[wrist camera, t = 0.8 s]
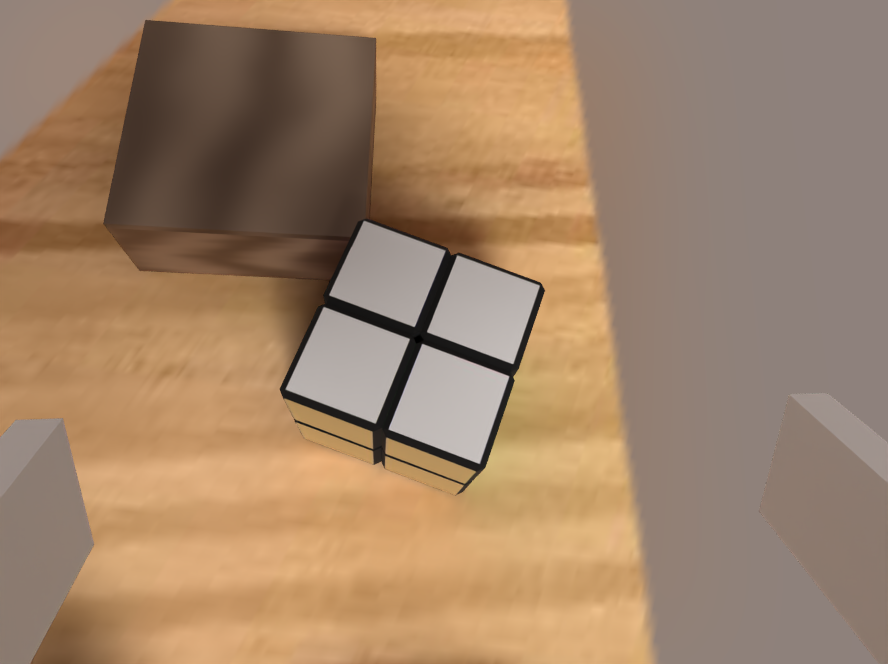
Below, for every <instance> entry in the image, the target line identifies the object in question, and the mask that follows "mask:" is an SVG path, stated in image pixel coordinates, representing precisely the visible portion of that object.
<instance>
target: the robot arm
mask: <svg viewBox="0 0 888 664" xmlns="http://www.w3.org/2000/svg"><path fill="white" fill-rule="evenodd" d="M759 512H760V513H761V515H762V516H763V517H764V518H765V520H766V521H767V522H768V523H769V525H770V526H771V527H772V528H773V530H774V531H775V532H776V534H777V535H778V536H779V537H780V539H781V540H782V541H783V543H784V544H785V545H786V546H787V548H788V549H789V550H790V551H791V553H792V554H793V555H794V557H795V558H796V559H797V560H798V562H799V563H800V564H801V565H802V567H803V568H804V569H805V571H806V572H807V573H808V574H809V576H810V577H811V578H812V579H813V581H814V582H815V583H816V585H817V586H818V587H819V588H820V590H821V591H822V592H823V593H824V595H825V596H826V597H827V599H828V600H829V601H830V602H831V604H832V605H833V606H834V607H835V609H836V610H837V611H838V613H839V614H840V615H841V616H842V618H843V619H844V620H845V621H846V623H847V624H848V625H849V626H850V628H851V629H852V630H853V632H854V633H855V634H856V635H857V637H858V638H859V639H860V640H861V642H862V643H863V644H864V646H865V647H866V648H867V650H868V651H869V652H870V653H871V655H872V656H873V657H874V658H875V660H876V661H877V662H878V663H879V664H888V442H886V441H885V440H884V439H883V438H881V437H880V436H879V435H878V434H877V433H875V432H874V431H873V430H872V429H871V428H869V427H868V426H867V425H865V424H864V423H863V422H862V421H861V420H859V419H858V418H857V417H856V416H855V415H853V414H852V413H851V412H849V410H847V409H846V408H845V407H844V406H842V405H841V404H840V403H839V402H838V401H836V400H835V399H834V398H833V397H831V396H830V395H829V394H828V393H814V394H789V397H788V400H787V404H786V409H785V412H784V416H783V420H782V424H781V428H780V431H779V435H778V439H777V444H776V447H775V451H774V455H773V459H772V463H771V466H770V471H769V475H768V478H767V482H766V486H765V490H764V494H763V498H762V501H761V505H760V509H759ZM93 545H94V542H93V538H92V534H91V530H90V526H89V522H88V518H87V514H86V510H85V506H84V502H83V498H82V494H81V490H80V486H79V482H78V477H77V473H76V469H75V465H74V461H73V457H72V453H71V449H70V445H69V441H68V437H67V433H66V429H65V425H64V421H63V418H61V419H31V420H15V422H14V423H13V424H12V425H11V426H10V427H9V428H8V429H7V430H6V432H5V433H4V434H3V435H2V436H1V437H0V664H30V663H31V661H32V659H33V658H34V656H35V654H36V652H37V650H38V648H39V646H40V644H41V643H42V641H43V639H44V637H45V635H46V633H47V631H48V629H49V628H50V626H51V624H52V622H53V620H54V618H55V616H56V615H57V613H58V611H59V609H60V607H61V605H62V603H63V601H64V600H65V598H66V596H67V594H68V592H69V590H70V588H71V586H72V585H73V583H74V581H75V579H76V577H77V575H78V573H79V571H80V570H81V568H82V566H83V564H84V562H85V560H86V558H87V557H88V555H89V553H90V551H91V549H92V547H93Z"/></svg>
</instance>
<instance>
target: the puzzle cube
mask: <svg viewBox="0 0 888 664" xmlns="http://www.w3.org/2000/svg"><path fill="white" fill-rule="evenodd" d="M544 292H545V290H544V288H543V286H542V284H541V283H540V282H537V281H535V280H532V279H529V278H527V277H524V276H521V275H518V274H516V273H513V272H510V271H507V270H505V269H502V268H499V267H497V266H494V265H491V264H488V263H486V262H483V261H480V260H477V259H475V258H472V257H469V256H467V255H464V254H461V253H457V254H454V255H452V256H451V254H450V252H449V250H448V248H446V247H443V246H440V245H438V244H435V243H432V242H430V241H427V240H424V239H421V238H419V237H416V236H413V235H411V234H408V233H405V232H402V231H400V230H397V229H394V228H391V227H389V226H386V225H383V224H381V223H378V222H375V221H372V220H370V219H367V218H366V219H363V220H360V221H358V222H357V225H356V227H355V229H354V231H353V233H352V235H351V237H350V240H349V242H348V244H347V246H346V248H345V250H344V252H343V255H342V257H341V259H340V261H339V263H338V265H337V267H336V270H335V272H334V274H333V276H332V278H331V280H330V282H329V285H328V287H327V289H326V291H325V293H324V295H323V296H324V301H325V304H324V305H321V306H319V307H318V308H317V310H316V312H315V315H314V317H313V319H312V321H311V323H310V325H309V327H308V330H307V332H306V334H305V336H304V338H303V340H302V342H301V345H300V347H299V349H298V351H297V353H296V355H295V357H294V360H293V362H292V364H291V366H290V368H289V370H288V372H287V375H286V377H285V379H284V381H283V383H282V385H281V387H280V391H281V394H282V396H283V399H284V400H285V402H286V404H287V406H288V408H289V410H290V412H291V414H292V416H293V418H294V420H295V422H296V424H297V426H298V428H299V430H300V432H301V433H302V435H303V437H304V438H305V439H307V440H310V441H312V442H315V443H318V444H320V445H323V446H326V447H328V448H331V449H334V450H336V451H339V452H342V453H344V454H347V455H350V456H352V457H355V458H358V459H360V460H363V461H366V462H368V463H371V464H373V465H375V464H377V463H379V462H381V461H382V464H383V466H384V468H385V469H387V470H389V471H392V472H394V473H397V474H400V475H402V476H405V477H408V478H410V479H413V480H416V481H418V482H421V483H424V484H426V485H429V486H432V487H434V488H437V489H440V490H442V491H445V492H448V493H450V494H453V495H457V494H459V493H462V492H463V491H464V490H465V489H466V488H467V486H468V485H469V484H470V483H471V482H472V480H474V479H475V478H476V477H477V476H478V475H479V474H480V472H481V471H482V470H483V469H484V468H485V467H486V464H487V461H488V458H489V455H490V452H491V449H492V446H493V443H494V440H495V438H496V435H497V432H498V429H499V426H500V423H501V420H502V417H503V414H504V411H505V408H506V405H507V402H508V399H509V396H510V393H511V390H512V387H513V384H514V381H515V380H514V378H513V376H514V375H515V373H516V372H517V370H518V369H519V366H520V363H521V360H522V357H523V354H524V351H525V348H526V345H527V342H528V339H529V336H530V333H531V330H532V327H533V324H534V321H535V319H536V316H537V313H538V310H539V307H540V304H541V301H542V298H543V295H544Z"/></svg>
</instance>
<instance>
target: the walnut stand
mask: <svg viewBox="0 0 888 664" xmlns="http://www.w3.org/2000/svg"><path fill="white" fill-rule="evenodd" d="M375 112H376V38H368V37H355V36H342V35H330V34H317V33H304V32H291V31H278V30H266V29H253V28H240V27H227V26H214V25H202V24H189V23H176V22H163V21H150V20H145V24H144V29H143V34H142V39H141V44H140V49H139V53H138V58H137V63H136V68H135V73H134V78H133V82H132V87H131V92H130V97H129V102H128V107H127V112H126V116H125V121H124V126H123V131H122V136H121V141H120V145H119V150H118V155H117V160H116V165H115V170H114V174H113V179H112V184H111V189H110V194H109V199H108V203H107V208H106V213H105V218H104V223H103V224H104V225H105V226H106V228H107V229H108V230H109V232H110V233H111V234H112V235H113V237H114V238H115V239H116V241H117V242H118V243H119V245H120V246H121V247H122V249H123V250H124V251H125V252H126V254H127V255H128V256H129V258H130V259H131V260H132V262H133V263H134V264H135V265H136V267H137V268H138V269H139V271H157V272H178V273H198V274H218V275H239V276H259V277H279V278H300V279H320V280H331V278H332V276H333V274H334V272H335V270H336V267H337V265H338V263H339V261H340V259H341V257H342V255H343V252H344V250H345V248H346V246H347V244H348V242H349V240H350V237H351V235H352V233H353V231H354V229H355V227H356V225H357V222H358V221H360V220H363V219H366V218H367V219H369V218H370V200H371V183H372V165H373V148H374V130H375Z"/></svg>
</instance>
